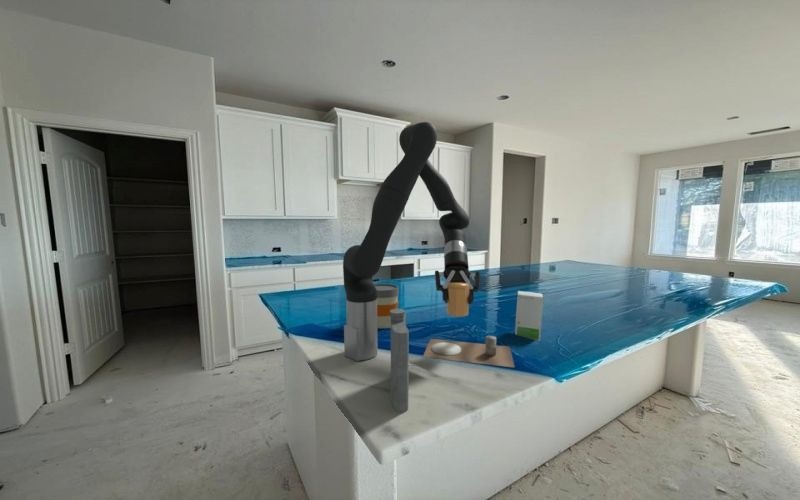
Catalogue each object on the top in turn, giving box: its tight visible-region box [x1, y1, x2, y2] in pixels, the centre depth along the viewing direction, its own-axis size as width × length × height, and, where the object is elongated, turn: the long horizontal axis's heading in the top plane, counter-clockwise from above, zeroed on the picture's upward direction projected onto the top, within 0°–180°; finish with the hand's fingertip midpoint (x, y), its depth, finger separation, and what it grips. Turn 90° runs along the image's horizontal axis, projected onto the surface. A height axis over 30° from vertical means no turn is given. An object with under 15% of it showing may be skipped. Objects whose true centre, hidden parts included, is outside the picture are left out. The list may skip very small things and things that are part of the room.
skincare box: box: [514, 290, 544, 342], centre depth 106 cm, size 8×7×16 cm
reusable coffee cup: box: [373, 283, 400, 329], centre depth 119 cm, size 13×13×15 cm
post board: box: [422, 335, 515, 368], centre depth 91 cm, size 25×14×6 cm, turn 75°
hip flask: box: [390, 308, 410, 413], centre depth 72 cm, size 16×4×20 cm, turn 2°
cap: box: [446, 282, 470, 318], centre depth 90 cm, size 6×6×9 cm
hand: (458, 302), depth 89 cm, fingers closed on cap, 6 cm apart
